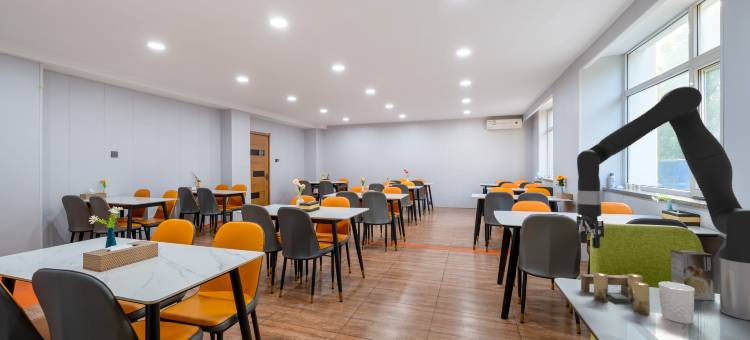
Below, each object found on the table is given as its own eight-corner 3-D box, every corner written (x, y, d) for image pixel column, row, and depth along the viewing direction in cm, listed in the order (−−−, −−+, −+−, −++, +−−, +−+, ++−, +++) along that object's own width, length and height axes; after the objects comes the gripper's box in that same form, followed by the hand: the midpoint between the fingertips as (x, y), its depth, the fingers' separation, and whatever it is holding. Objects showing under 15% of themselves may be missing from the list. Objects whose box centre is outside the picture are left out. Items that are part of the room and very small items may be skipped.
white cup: (703, 326, 90) (702, 291, 90) (671, 323, 91) (670, 289, 91) (682, 314, 97) (681, 282, 98) (653, 312, 99) (652, 280, 99)
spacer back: (643, 310, 100) (643, 282, 101) (653, 315, 96) (652, 286, 97) (630, 309, 101) (629, 281, 101) (639, 314, 97) (638, 285, 97)
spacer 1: (603, 298, 110) (603, 272, 110) (610, 302, 106) (610, 276, 106) (591, 297, 111) (591, 272, 111) (598, 302, 107) (597, 276, 107)
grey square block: (620, 299, 110) (620, 294, 110) (628, 304, 105) (628, 298, 106) (607, 299, 110) (607, 293, 110) (615, 304, 106) (615, 298, 106)
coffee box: (700, 294, 113) (699, 250, 114) (715, 301, 107) (714, 254, 108) (671, 292, 115) (670, 249, 116) (684, 299, 109) (682, 253, 110)
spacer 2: (637, 299, 109) (637, 274, 109) (646, 304, 105) (645, 277, 105) (625, 299, 109) (624, 273, 110) (633, 303, 105) (632, 277, 106)
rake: (586, 293, 115) (586, 277, 115) (579, 288, 120) (579, 273, 120) (634, 295, 113) (634, 279, 113) (625, 290, 117) (625, 274, 118)
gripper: (611, 204, 110) (612, 250, 110) (589, 201, 124) (589, 241, 124) (588, 204, 111) (589, 249, 111) (569, 201, 125) (569, 241, 125)
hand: (589, 245), depth 117 cm, fingers open, 8 cm apart
